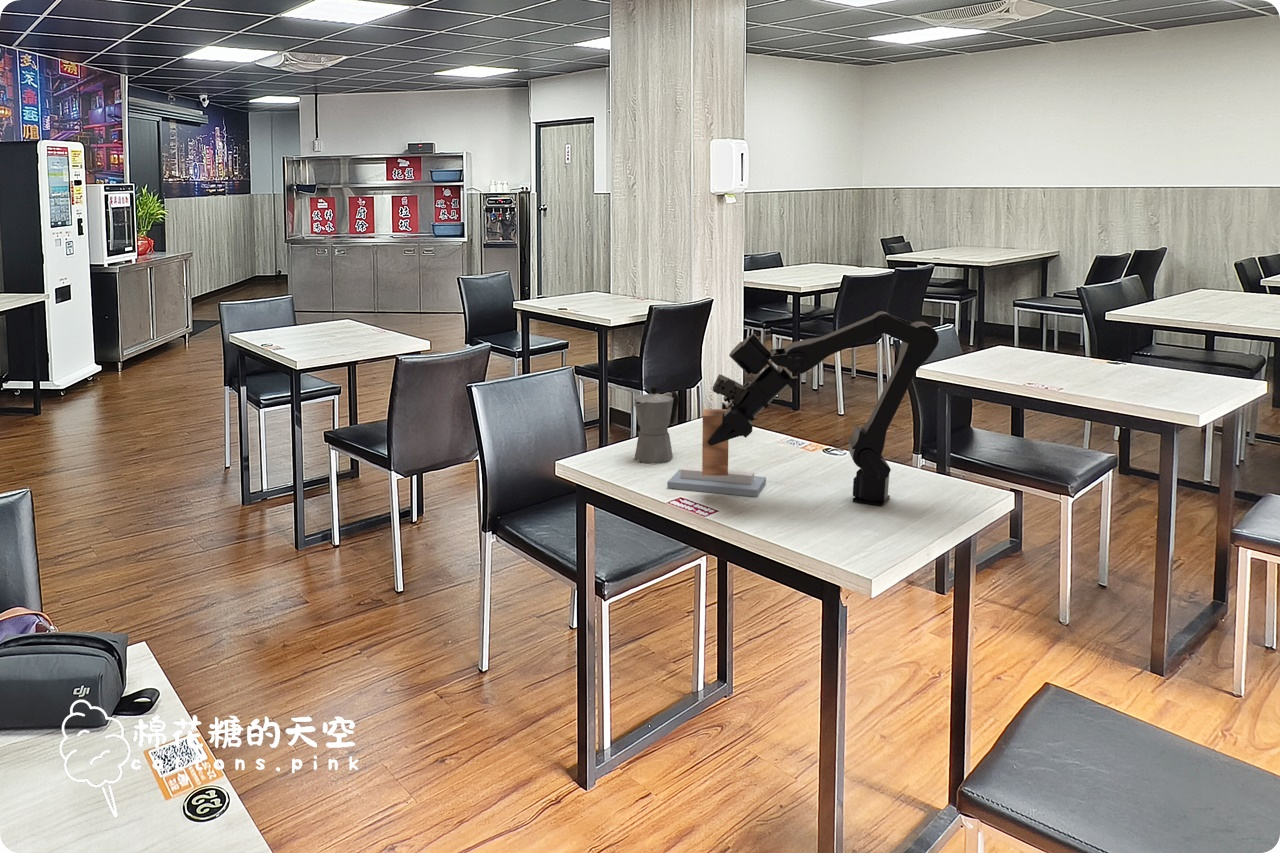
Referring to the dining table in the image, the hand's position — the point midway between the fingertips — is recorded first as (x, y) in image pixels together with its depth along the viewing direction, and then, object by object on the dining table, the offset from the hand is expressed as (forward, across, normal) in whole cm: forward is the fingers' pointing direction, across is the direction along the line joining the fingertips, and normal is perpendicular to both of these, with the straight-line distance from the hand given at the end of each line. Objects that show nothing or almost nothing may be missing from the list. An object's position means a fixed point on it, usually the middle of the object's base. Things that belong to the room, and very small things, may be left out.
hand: (708, 440), depth 213 cm
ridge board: (+8, -8, +10) cm, 15 cm away
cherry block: (+4, 0, +6) cm, 7 cm away
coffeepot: (+18, -30, 0) cm, 35 cm away
